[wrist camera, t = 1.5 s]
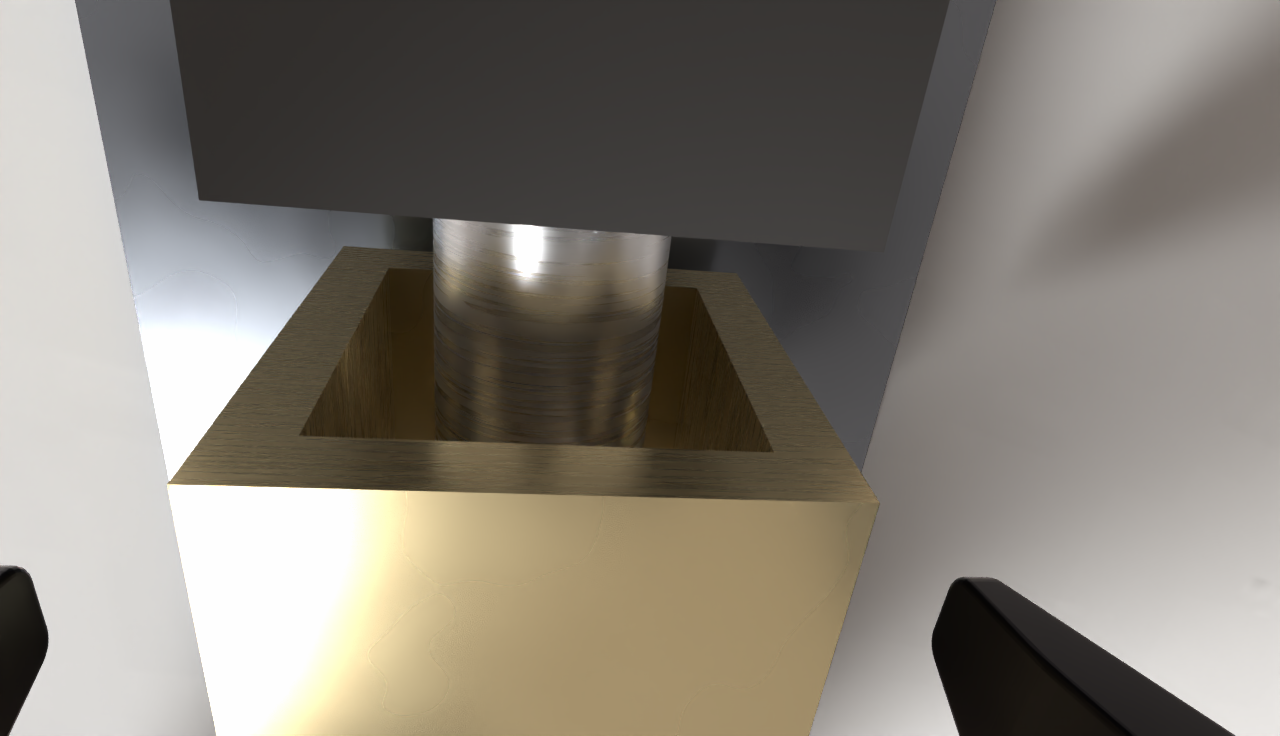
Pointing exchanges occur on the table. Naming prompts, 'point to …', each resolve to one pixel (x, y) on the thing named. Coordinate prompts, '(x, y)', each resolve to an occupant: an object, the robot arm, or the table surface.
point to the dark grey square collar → (565, 111)
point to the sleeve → (515, 536)
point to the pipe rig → (487, 273)
